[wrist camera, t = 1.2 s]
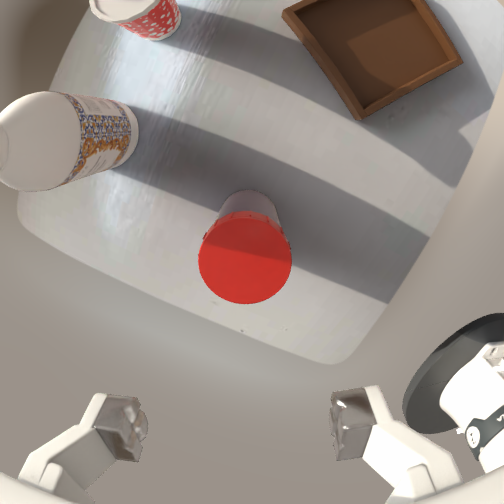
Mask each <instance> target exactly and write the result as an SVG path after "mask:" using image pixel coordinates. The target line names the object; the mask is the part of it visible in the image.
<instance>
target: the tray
mask: <svg viewBox="0 0 504 504" xmlns="http://www.w3.org/2000/svg"><path fill="white" fill-rule="evenodd" d="M282 18H283V20H284V21H285V22H286V23H287V24H288V26H289V27H290V28H291V29H292V31H293V32H294V33H295V34H296V36H297V37H298V38H299V39H300V41H301V42H302V43H303V45H304V46H305V47H306V48H307V50H308V51H309V52H310V54H311V55H312V56H313V58H314V59H315V61H316V62H317V63H318V65H319V66H320V67H321V69H322V70H323V72H324V73H325V74H326V76H327V77H328V79H329V80H330V82H331V83H332V85H333V86H334V88H335V89H336V91H337V92H338V94H339V95H340V97H341V98H342V100H343V101H344V103H345V104H346V106H347V107H348V109H349V111H350V112H351V114H352V115H353V117H354V119H355V120H362V119H364V118H366V117H367V116H369V115H371V114H372V113H374V112H376V111H377V110H379V109H381V108H383V107H384V106H386V105H388V104H390V103H391V102H393V101H395V100H396V99H398V98H400V97H402V96H404V95H405V94H407V93H409V92H411V91H412V90H414V89H416V88H418V87H420V86H421V85H423V84H425V83H427V82H429V81H430V80H432V79H434V78H436V77H438V76H440V75H442V74H443V73H445V72H447V71H449V70H451V69H453V68H455V67H457V66H459V65H461V64H462V63H463V61H462V59H461V57H460V55H459V54H458V52H457V50H456V48H455V47H454V45H453V43H452V42H451V40H450V38H449V37H448V35H447V33H446V32H445V30H444V28H443V27H442V25H441V24H440V22H439V21H438V19H437V18H436V16H435V15H434V13H433V12H432V10H431V9H430V7H429V6H428V5H427V3H426V2H425V0H302V1H300V2H298V3H296V4H294V5H292V6H290V7H288V8H286V9H284V10H283V12H282Z"/></svg>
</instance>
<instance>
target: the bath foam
mask: <svg viewBox="0 0 504 504" xmlns="http://www.w3.org/2000/svg"><path fill="white" fill-rule="evenodd" d="M138 136H139V127H138V122H137V119H136V117H135V115H134V114H133V112H132V111H131V109H130V108H129V107H128V106H126V105H125V104H123V103H121V102H118V101H114V100H109V99H104V98H97V97H91V96H84V95H77V94H70V93H62V92H53V91H45V92H38V93H33V94H29V95H26V96H24V97H22V98H20V99H18V100H16V101H14V102H13V103H12V104H10V105H9V106H8V107H7V108H6V109H4V110H3V111H2V112H1V113H0V181H1V182H3V183H4V184H6V185H7V186H9V187H11V188H14V189H16V190H20V191H25V192H38V191H45V190H50V189H53V188H55V187H58V186H61V185H64V184H66V183H69V182H72V181H75V180H78V179H81V178H84V177H87V176H90V175H93V174H96V173H99V172H102V171H105V170H108V169H111V168H114V167H117V166H119V165H121V164H122V163H124V162H125V161H126V160H127V159H128V158H129V157H130V156H131V154H132V153H133V151H134V150H135V147H136V145H137V142H138Z"/></svg>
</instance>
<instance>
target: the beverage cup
mask: <svg viewBox="0 0 504 504" xmlns="http://www.w3.org/2000/svg"><path fill="white" fill-rule="evenodd" d="M89 2H90V6H91V10H92V12H93V13H94V14H95V15H96V16H97V17H98V18H99V19H101V20H104V21H106V22H110V23H114V24H118V25H120V26H122V27H124V28H125V29H127V30H129V31H131V32H133V33H135V34H137V35H138V36H140V37H142V38H144V39H147V40H150V41H158V40H162V39H165V38H167V37H169V36H170V35H172V34H173V33H174V32H175V31H176V30H177V28H178V27H179V25H180V23H181V13H180V10H179V8H178V5H177V3H176V1H175V0H89Z"/></svg>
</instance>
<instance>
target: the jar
mask: <svg viewBox="0 0 504 504" xmlns="http://www.w3.org/2000/svg"><path fill="white" fill-rule="evenodd" d="M250 210H251V211H253V212H257V213H260V214H263V215H265V216H267V215H268V216H269V218H271V219H272V220H273V221H275V222H276V223H277V224H278V225H279V227H281V226H280V223H279V219H278V215H277V211H276V208H275V206H274V204H273V202H272V201H271V200H270V199H269V198H268V197H267V196H266V195H264V194H263V193H261V192H258V191H255V190H242V191H238V192H236V193H234V194H232V195H231V196H229V197H228V198H227V199H226V200H225V202H224V203H223V205H222V207H221V209H220V211H219V213H218V216H217V218H216V220H217V219H218V220H219V219H220V218H222V217H223V216H225V215H228V214H230V213H232V212H238V211H250ZM216 220H215V222H216Z"/></svg>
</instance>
